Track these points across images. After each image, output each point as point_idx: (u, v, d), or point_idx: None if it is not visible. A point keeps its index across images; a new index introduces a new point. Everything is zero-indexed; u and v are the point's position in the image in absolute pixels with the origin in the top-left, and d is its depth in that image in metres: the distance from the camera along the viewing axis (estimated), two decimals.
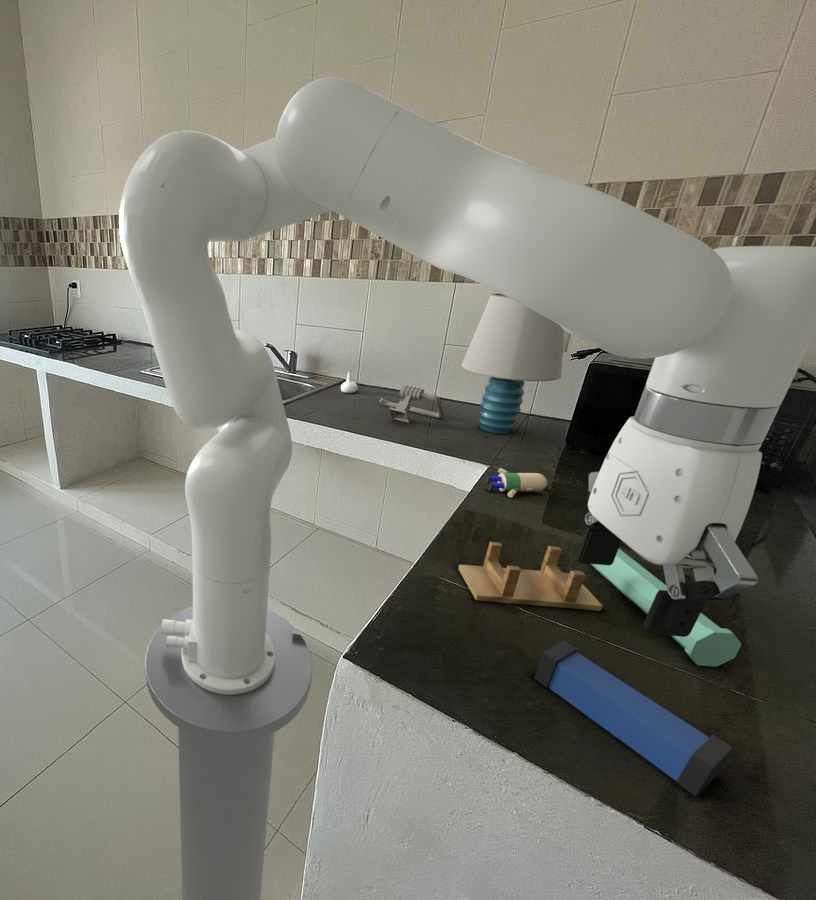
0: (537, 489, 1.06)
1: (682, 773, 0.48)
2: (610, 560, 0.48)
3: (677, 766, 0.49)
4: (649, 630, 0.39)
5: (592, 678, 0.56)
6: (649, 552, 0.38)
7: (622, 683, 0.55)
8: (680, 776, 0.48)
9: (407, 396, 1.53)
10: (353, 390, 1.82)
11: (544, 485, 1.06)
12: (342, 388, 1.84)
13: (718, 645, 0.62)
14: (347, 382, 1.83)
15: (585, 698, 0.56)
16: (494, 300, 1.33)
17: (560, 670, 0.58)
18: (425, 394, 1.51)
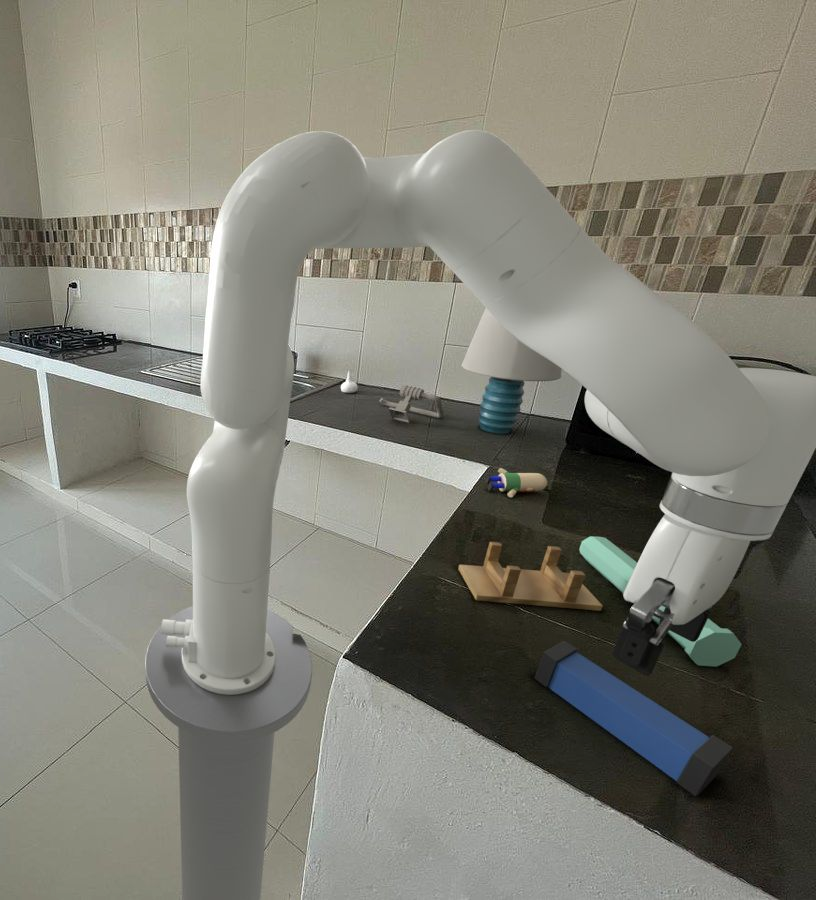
0: (537, 489, 1.06)
1: (682, 773, 0.48)
2: (690, 636, 0.51)
3: (677, 766, 0.49)
4: (613, 653, 0.50)
5: (592, 678, 0.56)
6: None
7: (622, 683, 0.55)
8: (680, 776, 0.48)
9: (407, 396, 1.53)
10: (353, 390, 1.82)
11: (544, 485, 1.06)
12: (342, 388, 1.84)
13: (718, 645, 0.62)
14: (347, 382, 1.83)
15: (585, 698, 0.56)
16: None
17: (560, 670, 0.58)
18: (425, 394, 1.51)
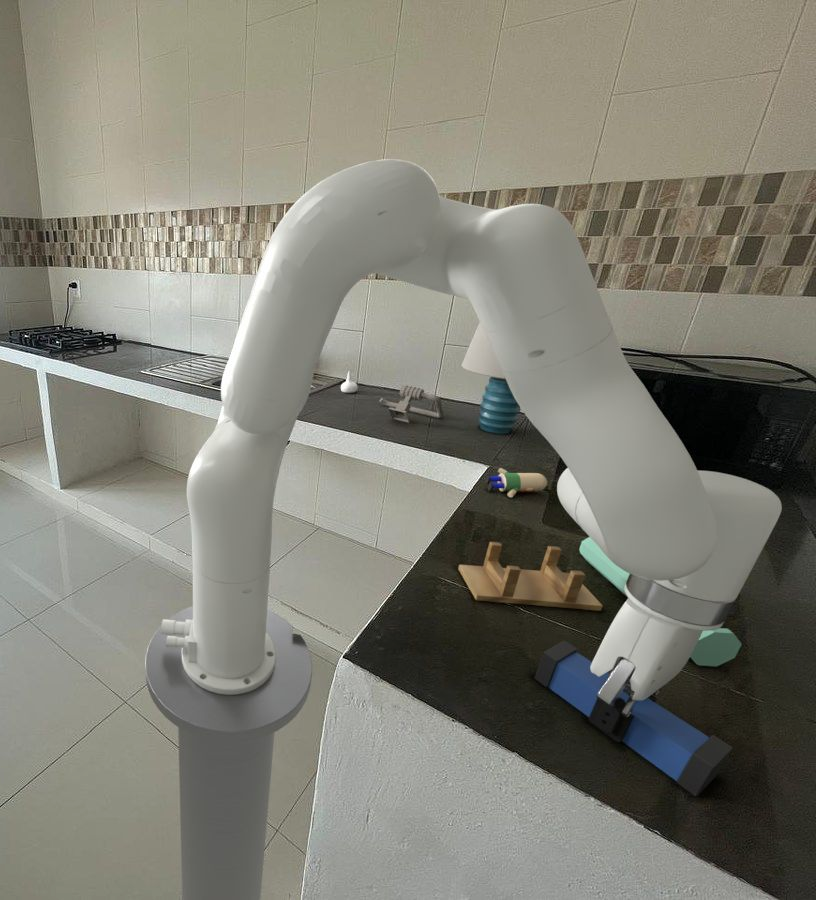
0: (537, 489, 1.06)
1: (682, 773, 0.48)
2: None
3: (677, 766, 0.49)
4: (589, 719, 0.55)
5: (592, 678, 0.56)
6: None
7: None
8: (680, 776, 0.48)
9: (407, 396, 1.53)
10: (353, 390, 1.82)
11: (544, 485, 1.06)
12: (342, 388, 1.84)
13: (718, 645, 0.62)
14: (347, 382, 1.83)
15: (585, 698, 0.56)
16: None
17: (560, 670, 0.58)
18: (425, 394, 1.51)
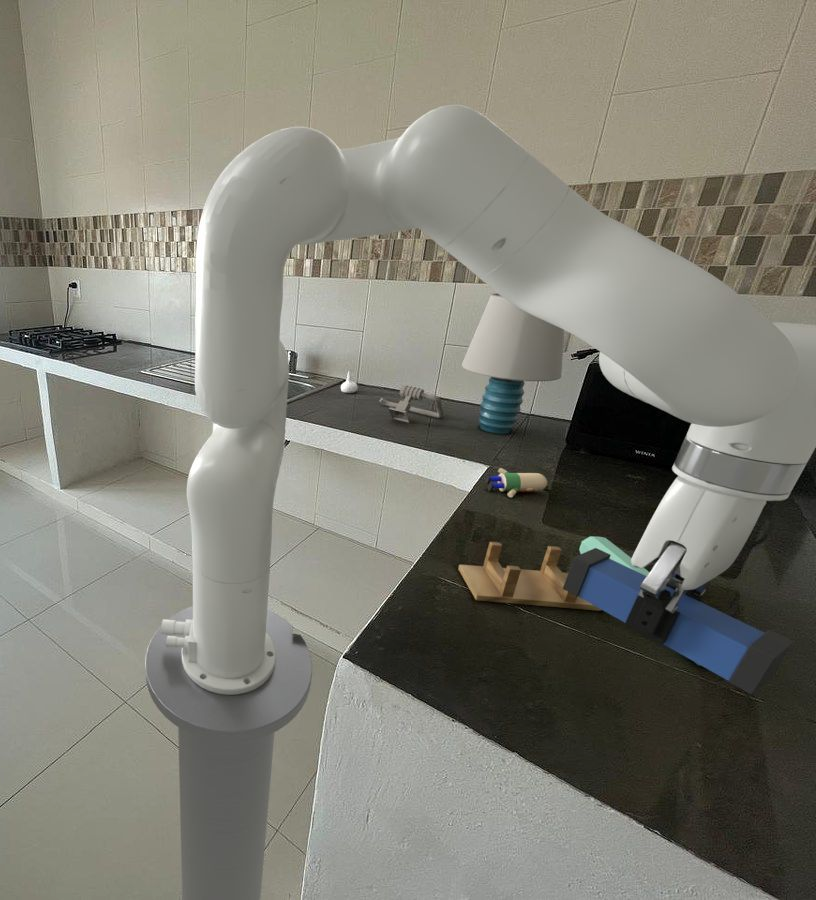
0: (537, 489, 1.06)
1: (736, 670, 0.43)
2: None
3: (730, 663, 0.43)
4: (626, 623, 0.50)
5: (629, 581, 0.51)
6: None
7: None
8: (733, 674, 0.43)
9: (407, 396, 1.53)
10: (353, 390, 1.82)
11: (544, 485, 1.06)
12: (342, 388, 1.84)
13: None
14: (347, 382, 1.83)
15: (622, 602, 0.50)
16: (494, 300, 1.33)
17: (593, 575, 0.52)
18: (425, 394, 1.51)
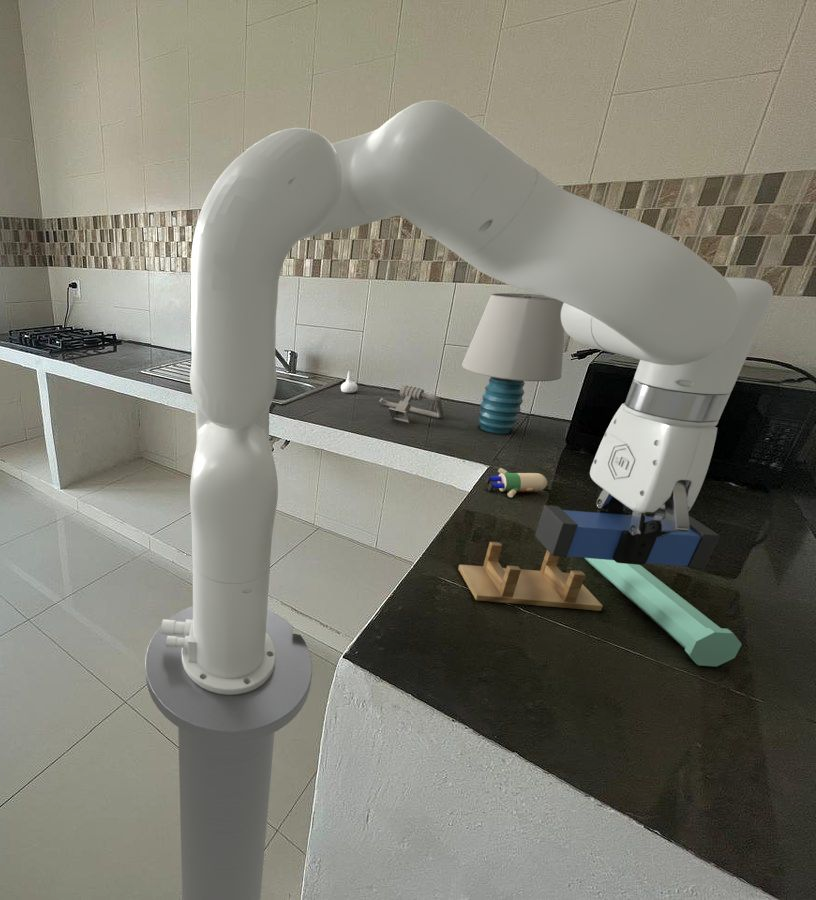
0: (537, 489, 1.06)
1: (693, 556, 0.54)
2: None
3: (688, 553, 0.54)
4: (616, 560, 0.55)
5: (600, 523, 0.55)
6: (635, 504, 0.51)
7: (605, 514, 0.57)
8: (691, 560, 0.54)
9: (407, 396, 1.53)
10: (353, 390, 1.82)
11: (544, 485, 1.06)
12: (342, 388, 1.84)
13: (718, 645, 0.62)
14: (347, 382, 1.83)
15: (606, 544, 0.55)
16: (494, 300, 1.33)
17: (579, 532, 0.55)
18: (425, 394, 1.51)
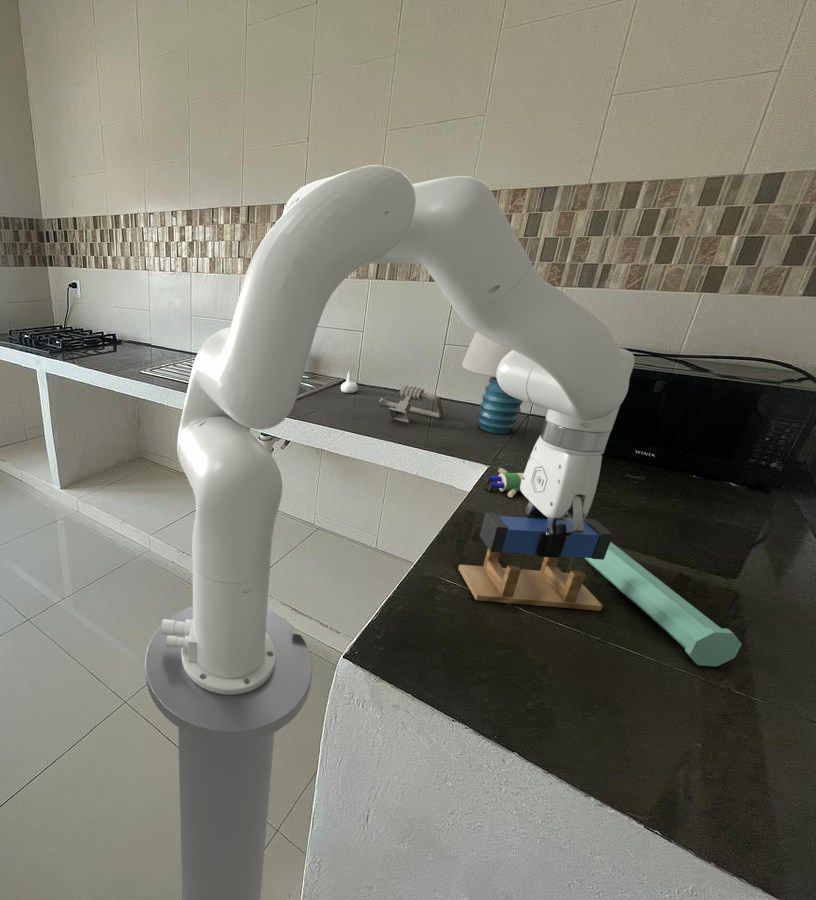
0: None
1: (595, 550, 0.71)
2: None
3: (591, 548, 0.71)
4: (538, 554, 0.72)
5: (526, 526, 0.72)
6: (547, 512, 0.68)
7: (531, 519, 0.74)
8: (594, 553, 0.71)
9: (407, 396, 1.53)
10: (353, 390, 1.82)
11: None
12: (342, 388, 1.84)
13: (718, 645, 0.62)
14: (347, 382, 1.83)
15: (530, 542, 0.72)
16: None
17: (510, 533, 0.71)
18: (425, 394, 1.51)
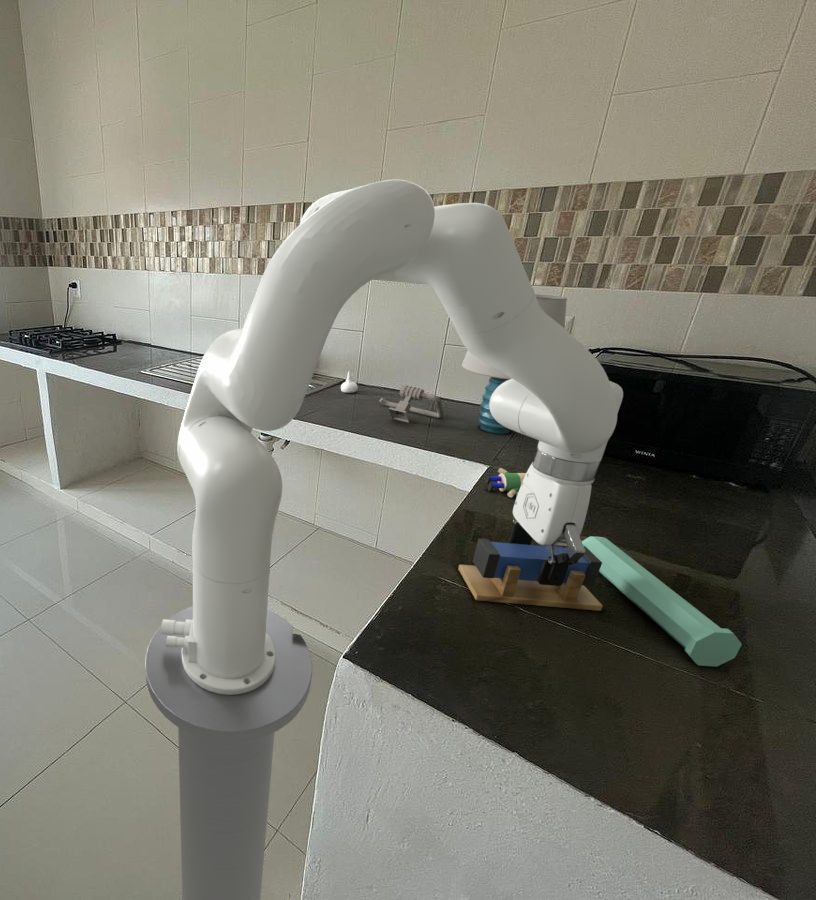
0: None
1: (585, 577, 0.73)
2: None
3: None
4: (539, 582, 0.70)
5: (517, 553, 0.74)
6: (538, 538, 0.69)
7: (523, 545, 0.76)
8: (584, 580, 0.73)
9: (407, 396, 1.53)
10: (353, 390, 1.82)
11: None
12: (342, 388, 1.84)
13: (718, 645, 0.62)
14: (347, 382, 1.83)
15: (522, 568, 0.73)
16: None
17: (502, 560, 0.73)
18: (426, 394, 1.51)
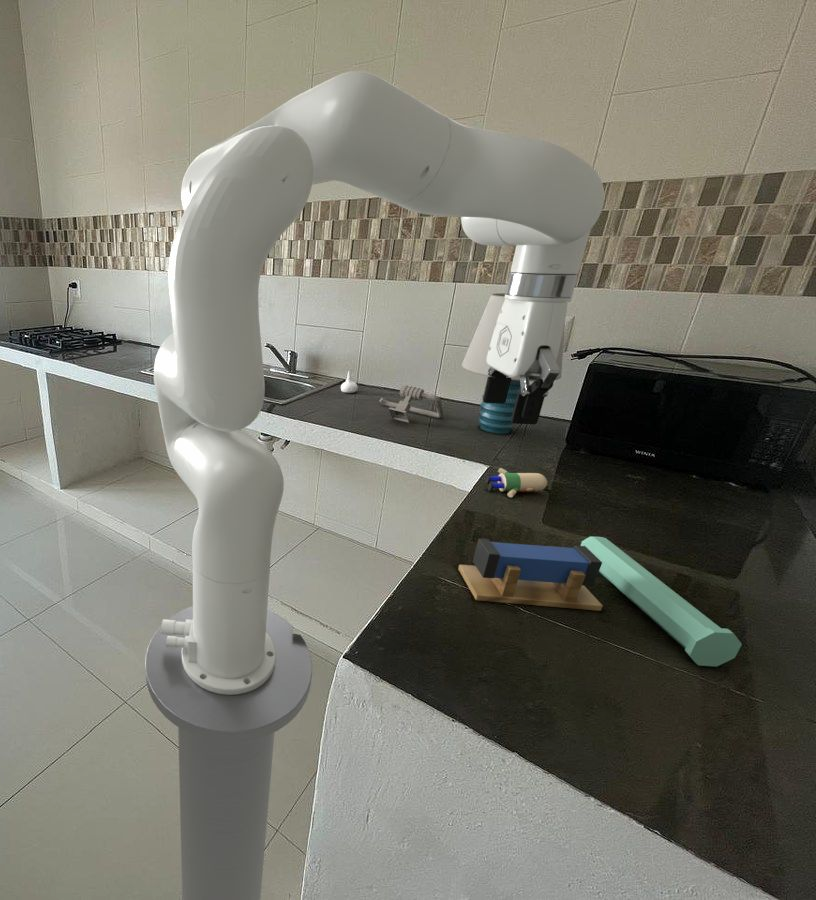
0: (537, 489, 1.06)
1: (585, 577, 0.73)
2: (503, 399, 0.73)
3: None
4: (513, 421, 0.65)
5: (517, 553, 0.74)
6: (511, 370, 0.64)
7: (523, 545, 0.76)
8: (584, 580, 0.73)
9: (407, 396, 1.53)
10: (353, 390, 1.82)
11: (544, 485, 1.06)
12: (342, 388, 1.84)
13: (718, 645, 0.62)
14: (347, 382, 1.83)
15: (522, 568, 0.73)
16: (494, 300, 1.33)
17: (502, 560, 0.73)
18: (425, 394, 1.51)
